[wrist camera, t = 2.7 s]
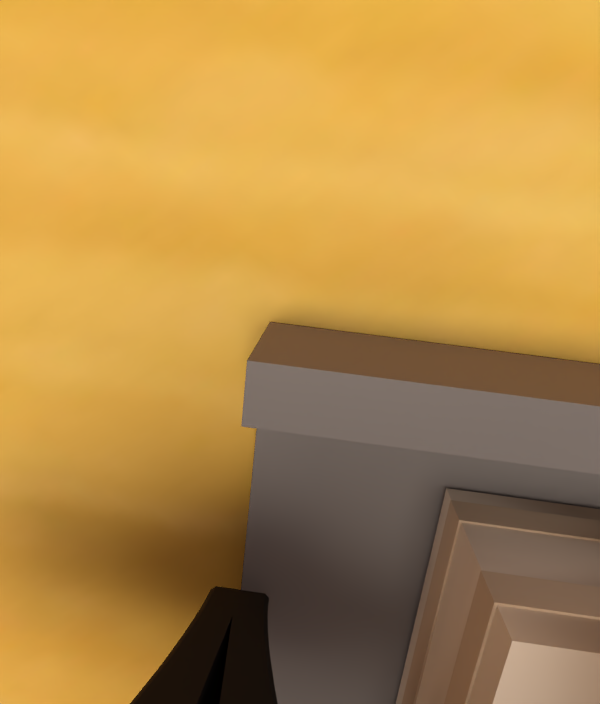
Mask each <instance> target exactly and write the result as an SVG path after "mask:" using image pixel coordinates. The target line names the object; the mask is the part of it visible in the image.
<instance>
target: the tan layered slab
mask: <svg viewBox="0 0 600 704" xmlns="http://www.w3.org/2000/svg"><path fill="white" fill-rule="evenodd" d="M396 704H600V509H595V508H587V507H580V506H573V505H565V504H558V503H551V502H543V501H536V500H529V499H522V498H514V497H507V496H500V495H492V494H485V493H478V492H470V491H463V490H456V489H448V488H446V491H445V496H444V500H443V504H442V508H441V513H440V517H439V521H438V525H437V530H436V534H435V538H434V542H433V547H432V551H431V555H430V560H429V564H428V568H427V572H426V577H425V581H424V585H423V589H422V594H421V598H420V602H419V606H418V611H417V615H416V619H415V623H414V628H413V632H412V636H411V640H410V645H409V649H408V653H407V657H406V662H405V666H404V670H403V674H402V679H401V683H400V687H399V691H398V696H397V700H396Z"/></svg>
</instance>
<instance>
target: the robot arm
mask: <svg viewBox="0 0 600 704" xmlns="http://www.w3.org/2000/svg"><path fill="white" fill-rule="evenodd" d="M268 603H269V597H268V596H267V595H266V594H265V593H258V592H252V591H245V590H238V589H231V588H224V587H217V586H216V587H214V588H213V589H211V590H210V592H209V594H208V596H207V598H206V600H205V602H204V603H203V605H202V607H201V608H200V610H199V612H198V613H197V615H196V616H195V618H194V619H193V621H192V622H191V624H190V625H189V627H188V628H187V630H186V631H185V633H184V634H183V636H182V637H181V639H180V640H179V641H178V643H177V644H176V646H175V647H174V648H173V650H172V651H171V652H170V654H169V655H168V657H167V658H166V659H165V661H164V662H163V663H162V665H161V666H160V667H159V669H158V670H157V671H156V672H155V674H154V675H153V676H152V677H151V679H150V680H149V681H148V682H147V683H146V685H145V686H144V687H143V688H142V690H141V691H140V692H139V693H138V695H137V696H136V697H135V698H134V700H133V701H132V702H131V703H130V704H278V703H277V697H276V692H275V686H274V679H273V672H272V666H271V659H270V650H269V638H268Z"/></svg>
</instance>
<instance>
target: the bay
mask: <svg viewBox="0 0 600 704" xmlns="http://www.w3.org/2000/svg"><path fill="white" fill-rule="evenodd" d="M242 426H243V427H250V428H257V431H256V442H255V452H254V462H253V472H252V482H251V493H250V503H249V513H248V523H247V534H246V544H245V554H244V564H243V574H242V585H241V590H245V591H252V592H258V593H265V594H266V595H267V596H268V597H269V603H268V638H269V650H270V659H271V666H272V672H273V679H274V686H275V692H276V697H277V703H278V704H396V700H397V696H398V691H399V687H400V683H401V679H402V674H403V670H404V666H405V662H406V657H407V653H408V649H409V645H410V640H411V636H412V632H413V628H414V623H415V619H416V615H417V611H418V606H419V602H420V598H421V594H422V589H423V585H424V581H425V577H426V572H427V568H428V564H429V560H430V555H431V551H432V547H433V542H434V538H435V534H436V530H437V525H438V521H439V517H440V513H441V508H442V504H443V500H444V496H445V491H446V488H448V489H456V490H463V491H470V492H478V493H485V494H492V495H500V496H507V497H514V498H522V499H529V500H536V501H543V502H551V503H558V504H565V505H573V506H580V507H587V508H595V509H600V364H595V363H587V362H579V361H571V360H564V359H556V358H548V357H540V356H532V355H524V354H517V353H509V352H501V351H493V350H485V349H477V348H470V347H462V346H454V345H446V344H438V343H430V342H423V341H415V340H407V339H399V338H391V337H383V336H376V335H368V334H360V333H352V332H344V331H336V330H329V329H321V328H313V327H305V326H297V325H290V324H282V323H274V322H270V323H269V325H268V326H267V328H266V330H265V332H264V333H263V335H262V337H261V338H260V340H259V342H258V343H257V345H256V347H255V348H254V350H253V352H252V353H251V355H250V357H249V358H248V360H247V369H246V381H245V392H244V404H243V415H242Z"/></svg>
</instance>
